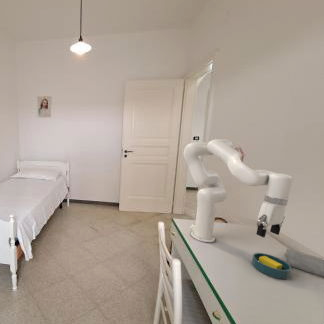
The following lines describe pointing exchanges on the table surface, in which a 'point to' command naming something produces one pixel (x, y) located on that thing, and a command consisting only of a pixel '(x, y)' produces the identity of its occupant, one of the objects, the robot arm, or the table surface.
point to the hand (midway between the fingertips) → (267, 234)
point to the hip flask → (305, 262)
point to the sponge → (270, 262)
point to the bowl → (270, 271)
